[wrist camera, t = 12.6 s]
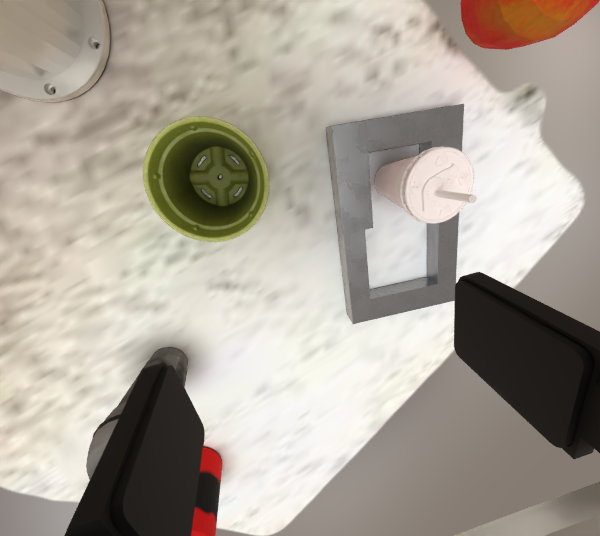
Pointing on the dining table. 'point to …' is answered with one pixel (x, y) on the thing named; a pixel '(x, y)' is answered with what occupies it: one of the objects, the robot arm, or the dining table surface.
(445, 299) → the keyhole plate
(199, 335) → the dining table surface
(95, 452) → the beverage cup
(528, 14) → the apple
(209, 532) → the soda can
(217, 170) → the plant pot
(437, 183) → the smoothie
